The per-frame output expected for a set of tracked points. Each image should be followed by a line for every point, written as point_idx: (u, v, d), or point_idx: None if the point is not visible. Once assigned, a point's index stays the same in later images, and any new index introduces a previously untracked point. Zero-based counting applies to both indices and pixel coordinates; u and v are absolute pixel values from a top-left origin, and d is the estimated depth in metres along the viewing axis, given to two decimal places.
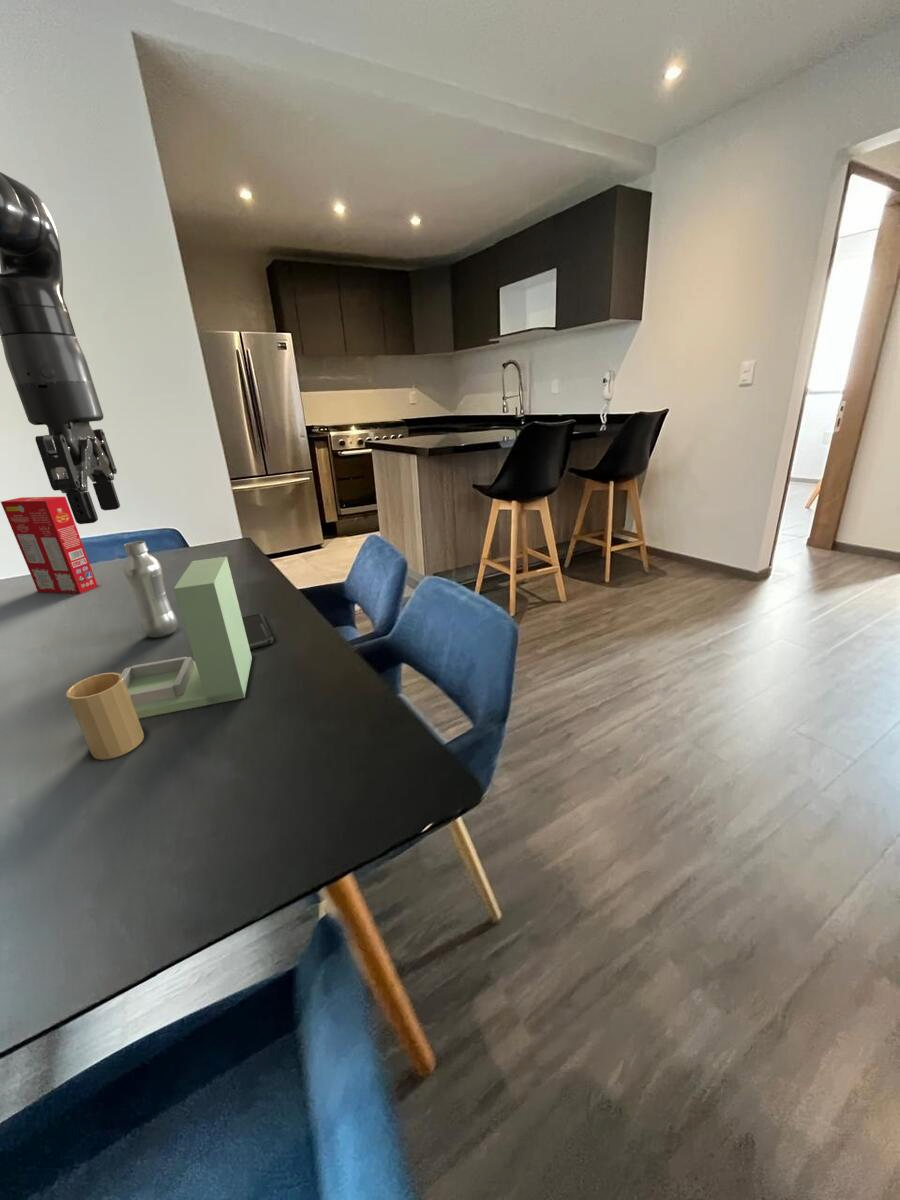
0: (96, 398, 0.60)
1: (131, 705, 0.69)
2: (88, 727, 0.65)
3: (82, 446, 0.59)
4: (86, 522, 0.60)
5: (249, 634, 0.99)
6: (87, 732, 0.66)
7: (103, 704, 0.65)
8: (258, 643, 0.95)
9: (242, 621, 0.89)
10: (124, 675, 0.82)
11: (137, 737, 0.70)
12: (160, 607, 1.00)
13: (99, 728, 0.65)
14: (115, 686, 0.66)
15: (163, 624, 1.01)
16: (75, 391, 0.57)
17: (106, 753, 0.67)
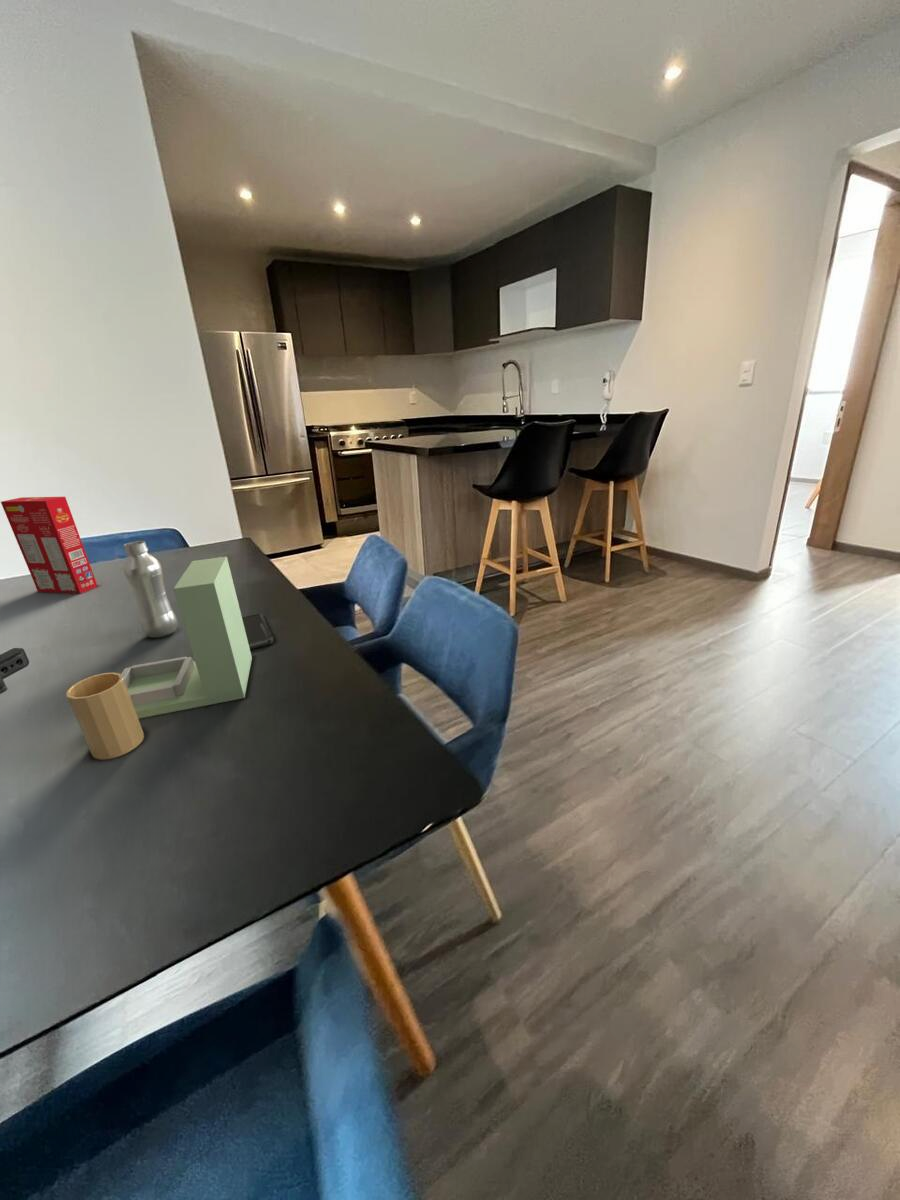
0: None
1: (131, 705, 0.69)
2: (88, 727, 0.65)
3: None
4: None
5: (249, 634, 0.99)
6: (87, 732, 0.66)
7: (103, 704, 0.65)
8: (258, 643, 0.95)
9: (242, 621, 0.89)
10: (124, 675, 0.82)
11: (137, 737, 0.70)
12: (160, 607, 1.00)
13: (99, 728, 0.65)
14: (115, 686, 0.66)
15: (163, 624, 1.01)
16: None
17: (106, 753, 0.67)
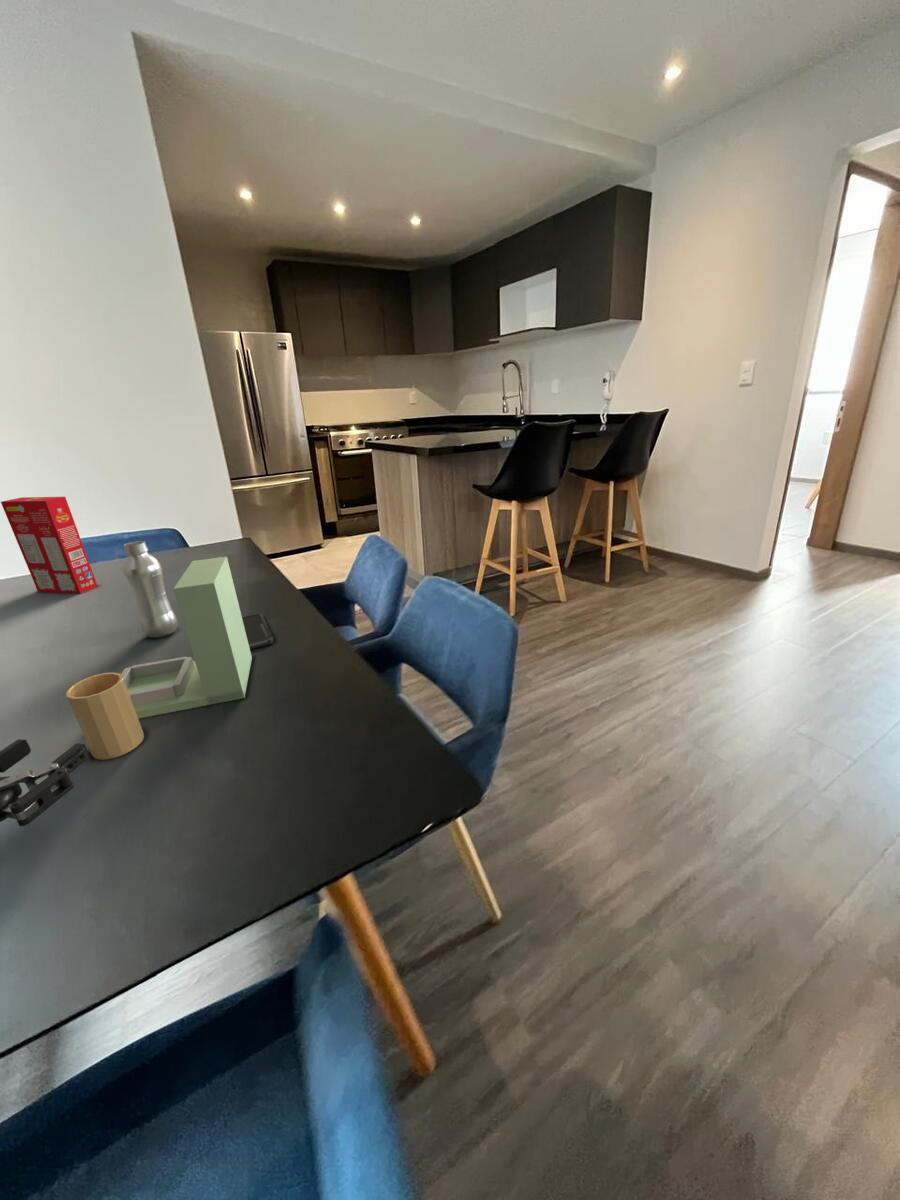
0: None
1: (131, 705, 0.69)
2: (88, 727, 0.65)
3: None
4: None
5: (249, 634, 0.99)
6: (87, 732, 0.66)
7: (103, 704, 0.65)
8: (258, 643, 0.95)
9: (242, 621, 0.89)
10: (124, 675, 0.82)
11: (137, 737, 0.70)
12: (160, 607, 1.00)
13: (99, 728, 0.65)
14: (115, 686, 0.66)
15: (163, 624, 1.01)
16: None
17: (106, 753, 0.67)
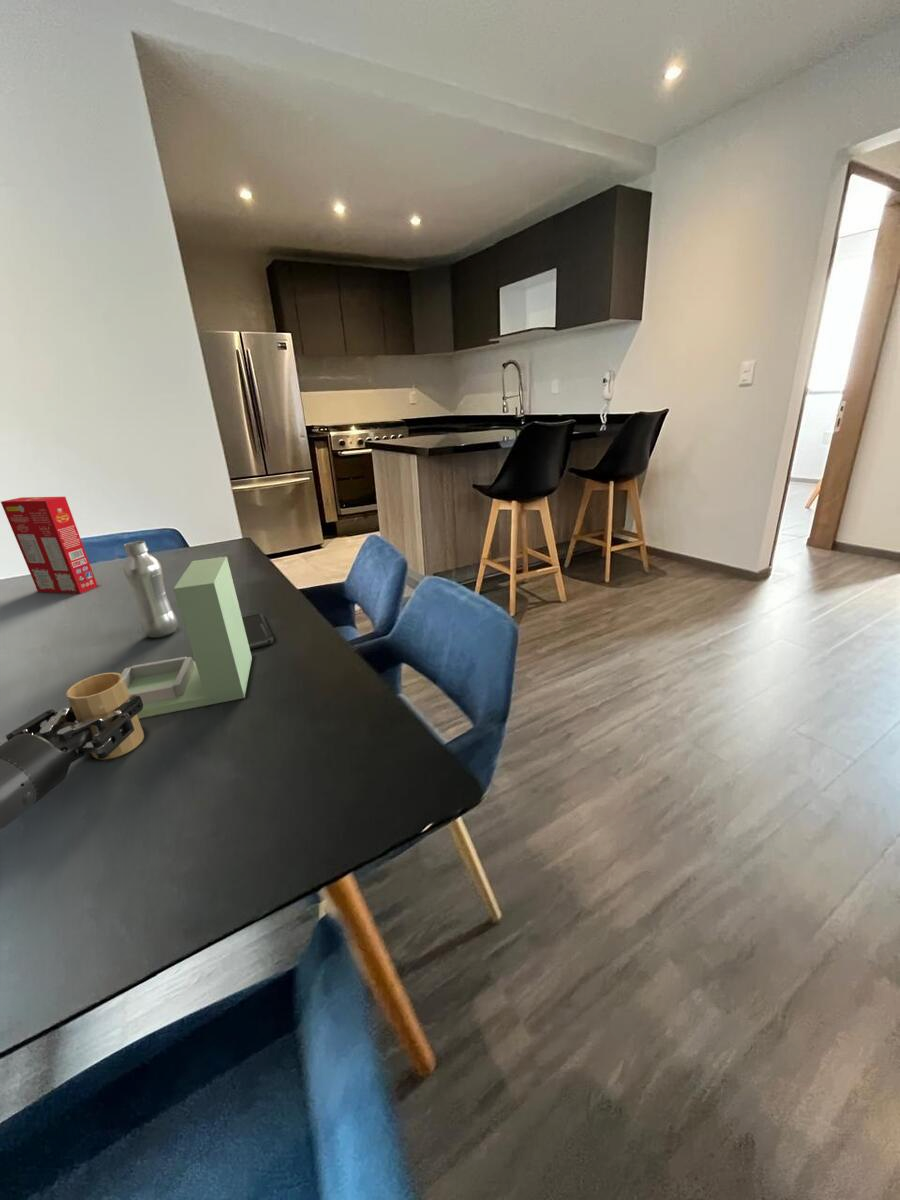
0: None
1: None
2: None
3: None
4: None
5: (249, 634, 0.99)
6: None
7: (103, 704, 0.65)
8: (258, 643, 0.95)
9: (242, 621, 0.89)
10: (124, 675, 0.82)
11: (137, 737, 0.70)
12: (160, 607, 1.00)
13: None
14: (115, 686, 0.66)
15: (163, 624, 1.01)
16: None
17: None
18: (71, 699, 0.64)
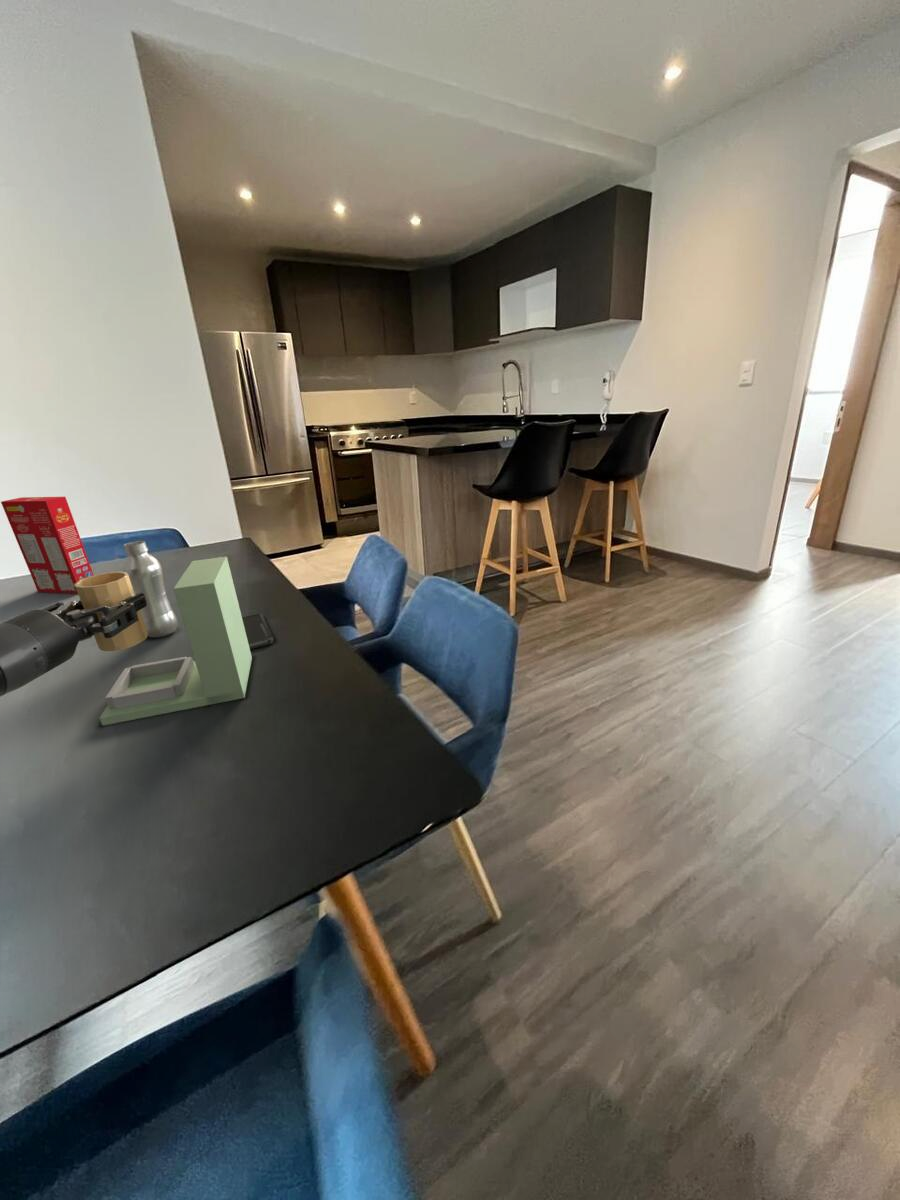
0: None
1: None
2: None
3: None
4: None
5: (249, 634, 0.99)
6: None
7: (109, 595, 0.69)
8: (258, 643, 0.95)
9: (242, 621, 0.89)
10: (124, 675, 0.82)
11: (141, 633, 0.73)
12: (160, 607, 1.00)
13: None
14: (121, 579, 0.70)
15: (163, 624, 1.01)
16: None
17: (112, 644, 0.71)
18: (79, 588, 0.68)
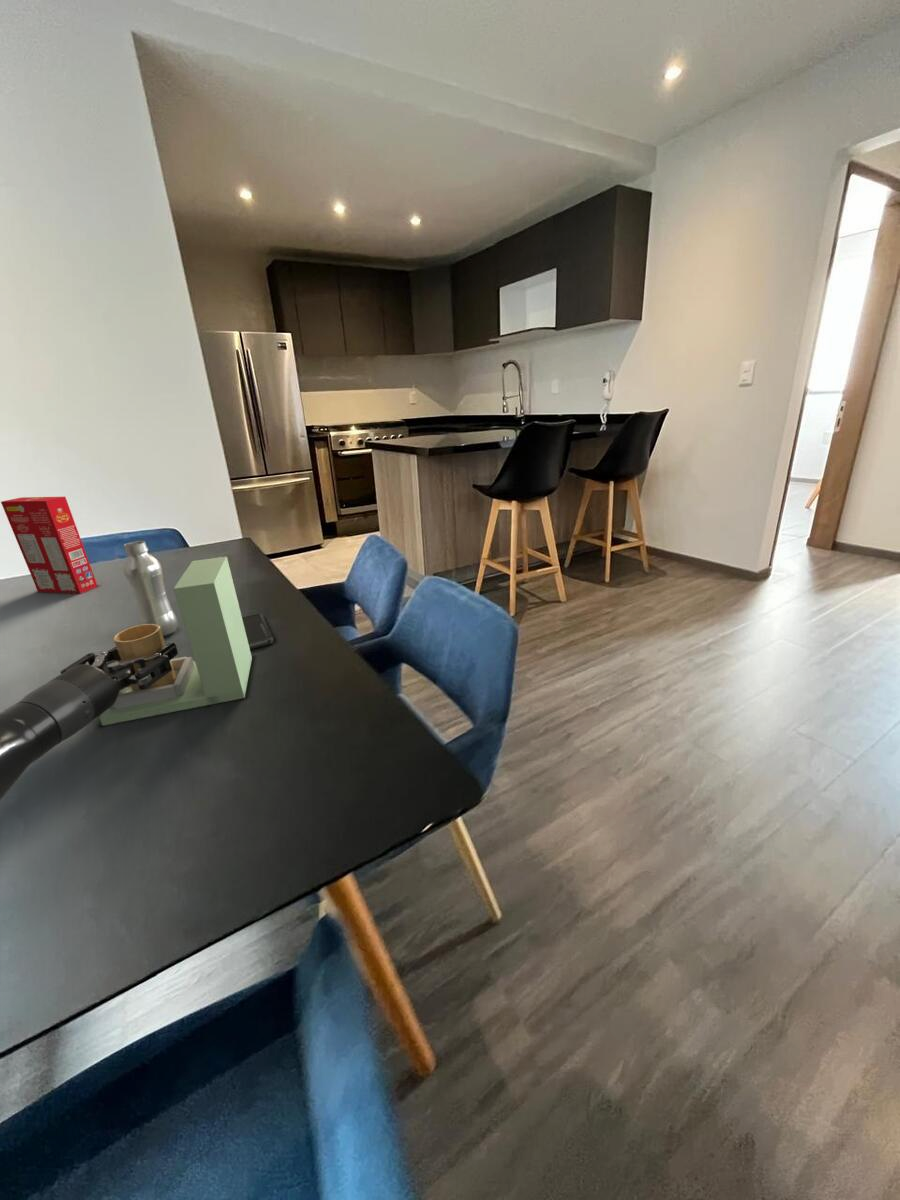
0: None
1: None
2: None
3: None
4: None
5: (249, 634, 0.99)
6: None
7: (145, 648, 0.76)
8: (258, 643, 0.95)
9: (242, 621, 0.89)
10: None
11: (171, 679, 0.81)
12: (160, 607, 1.00)
13: None
14: (154, 633, 0.77)
15: (163, 624, 1.01)
16: None
17: None
18: (118, 643, 0.75)
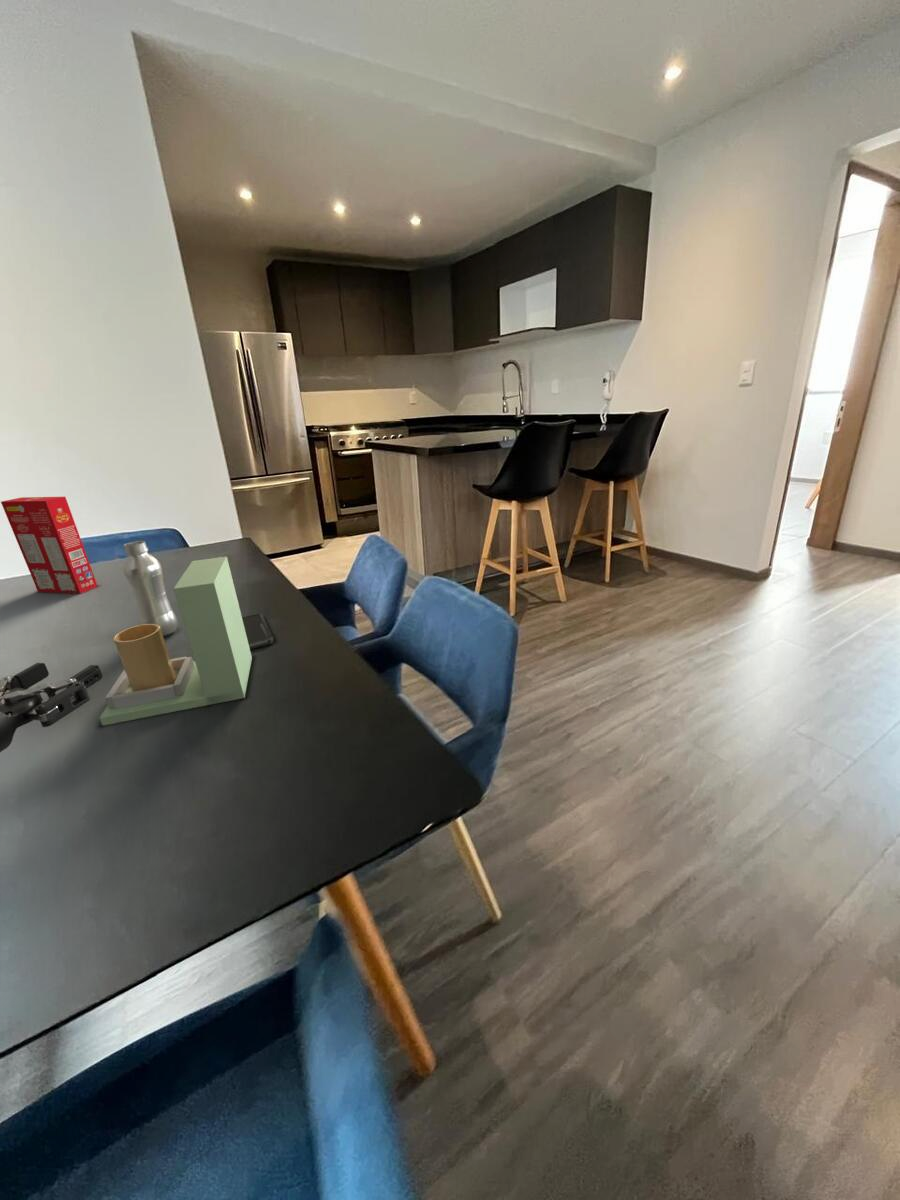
0: None
1: (166, 651, 0.80)
2: (132, 667, 0.77)
3: None
4: None
5: (249, 634, 0.99)
6: (131, 672, 0.77)
7: (145, 648, 0.76)
8: (258, 643, 0.95)
9: (242, 621, 0.89)
10: (124, 675, 0.82)
11: (171, 679, 0.81)
12: (160, 607, 1.00)
13: (140, 668, 0.77)
14: (154, 633, 0.77)
15: (163, 624, 1.01)
16: None
17: None
18: (118, 643, 0.75)
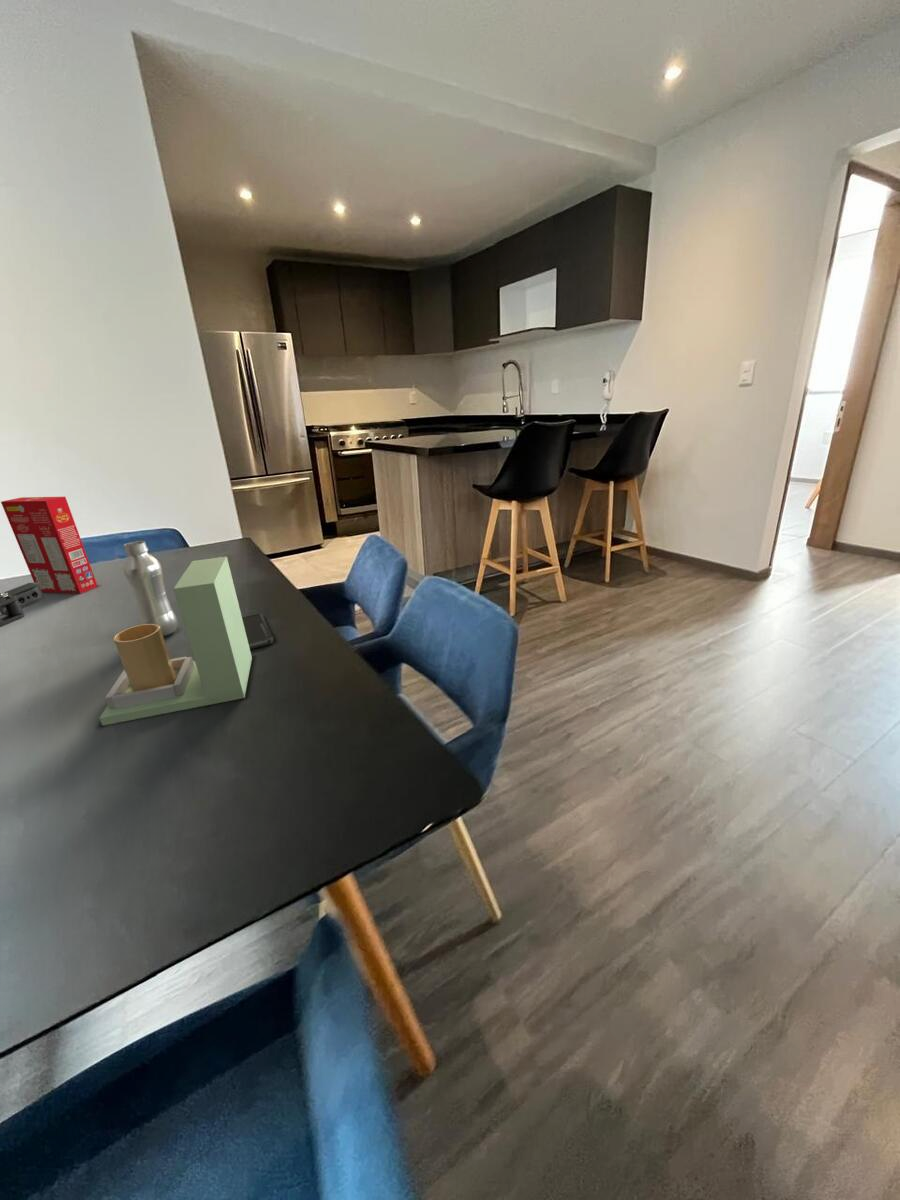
0: None
1: (166, 651, 0.80)
2: (132, 667, 0.77)
3: None
4: None
5: (249, 634, 0.99)
6: (131, 672, 0.77)
7: (145, 648, 0.76)
8: (258, 643, 0.95)
9: (242, 621, 0.89)
10: (124, 675, 0.82)
11: (171, 679, 0.81)
12: (160, 607, 1.00)
13: (140, 668, 0.77)
14: (154, 633, 0.77)
15: (163, 624, 1.01)
16: None
17: None
18: (118, 643, 0.75)
